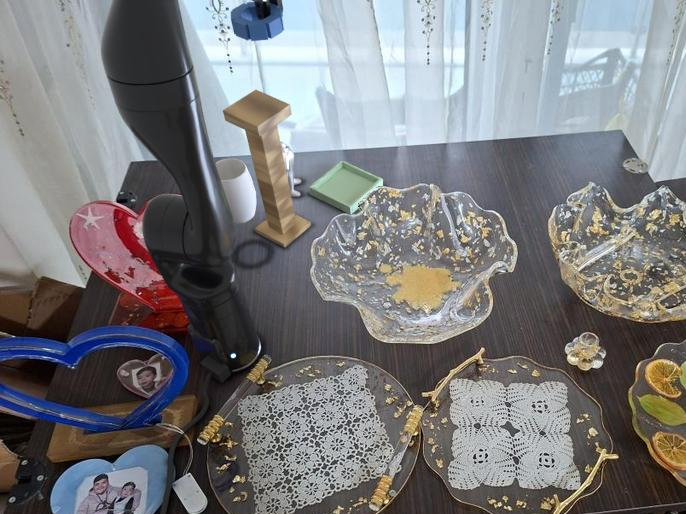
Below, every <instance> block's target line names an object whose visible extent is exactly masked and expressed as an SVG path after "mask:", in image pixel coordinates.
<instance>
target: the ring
mask: <svg viewBox="0 0 686 514" xmlns="http://www.w3.org/2000/svg"><path fill="white" fill-rule="evenodd" d="M270 8H271V10H270V12H271V15H270V16H268V17H266V18H265V19H263V20H259V19H258V17H257V13H256V8H255V3H254V1H247V2H246V3H244V2H243V3H241V4H240V5H237V6H236V7H234V8H233V9H231V11H230V22H231V25H232V31H233V34H234V35H235V36H236V37H238V38H241V39H243V40H246V41H251V42H257V41H269V39H270V40H272V39H274V38H276V37H277V36H279V35H280V34H283V32H284V31H285V28H284V27H285V26H284V20H283V17H282V13H281V8H280V7H279V6H277V5H275V4H272V3H270Z"/></svg>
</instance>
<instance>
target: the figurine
mask: <svg viewBox="0 0 686 514" xmlns="http://www.w3.org/2000/svg"><path fill="white" fill-rule="evenodd" d="M280 143H281V148H282V153H283V158H284V163H285V168H286V173H287V178H288V183H289V188H290V193H291V198H299V197H300V196H301V192H300V191H298V190H296V189H295V188H294V187H295V186H297V185H300V184H302V179H301V178H297V177H295V170H294V166H295V152H294V150H293V149H292V148H291V147H290V146H289V145H287V143H285V142H283V141H280Z"/></svg>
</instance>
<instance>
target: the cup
mask: <svg viewBox="0 0 686 514" xmlns="http://www.w3.org/2000/svg"><path fill="white" fill-rule="evenodd" d="M215 164H216V167H217V170H218V173H219V176H220V179H221V182H222V185H223V188H224V191H225V194H226V197H227V200H228V203H229V206H230V209H231V213H232V217H233V222H234V224H245V223H247V222H250V220H252V219H253V218H254V217H255V214H256V209H257V191H256V188H255V184H254V181H253V179H252V175H251V173H250V172H249V169H248V167H247V165H246V163H245V162H244V161H243V160H241V159H238V158H230V157H229V158H228V157H227V158H223V159H219V160H217V162H216V161H215Z"/></svg>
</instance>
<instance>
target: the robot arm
mask: <svg viewBox="0 0 686 514" xmlns="http://www.w3.org/2000/svg"><path fill="white" fill-rule="evenodd" d="M251 2H254V3H255V8H256V13H257V17H258V19H259V20H263V19H265V18H266V17H268V16H270V15H271V12H270V10H271V8H270V3H272V4H275V5H277V6H279V7H280V8H281V13H282V18H283V17H284V15H283V13H284V6H283V0H251ZM180 7H181V6H180V2H179V0H112V1H111V3H110V7H109V10H108V14H107V17H106V20H105V24H104V28H103V32H102V36H101V42H100V57H101V62H102V66H103V69H104V73H105V76H106V79H107V82H108V85H109V87H110V91H111V95H112V97H113V100H114V103H115V106H116V108H117V111H118V114H119V116H120V117H121V119H122V121H123V123H124V124H125V125H126V126H127V128H128V129H129V130H130V132H131V133H132V135H134V136H135V138H136V139H137V140H138V141H139V143H140V144H141V145H142V146H143V147H144V148H145V149H146V150H147V152H148V153H150V155H151V156H153V158H154V159H155V160H156V161H157V162H158V163H159V164H160V165H161V166H162V167H163V168H164V170H165V171H166V172H167V173H168V175H170V177H171V179H172V180H173V181H174V183H175V185H176V186H177V188H178V191H179V192H180V194H173V193H162V194H158V195H156V196H155V197H153V198H152V199H151V200H149V202H148V203H147V204H146V207H145V209H144V212H143V214H142V220H141V221H142V222H141V225H142V226H141V230H142V236H143V237H142V238H143V241H144V244H145V245H144V246H145V247H146V250H147V252H148V254H149V256H150V258H151V261H152V262H153V263H154V265H155V267H156V269H157V270H158V273H159V274H160V276H161V278H162V279H163V282H164V283H165V285H166V286H167V288H168V289H169V290H170V291H171V292H172V293H174V294H176V295H177V298H178V300H179V301H180V304H181V306H182V309H183V310H184V312H185V315H186V317H187V319H188V322H189V323H190V324H189V325H187V327H186V330H187V331H188V333H189V335H190V338H191V340H192V342H193V344H194V346H195V349H196V351H197V353H198V355H199V357H200V359H201V361H200V362H199V363H200V366H201V368H202V370H203V372H204V373H206V374H207V375H206V377H205V380H204V382H203V384H202V388H201V398H202V400H203V405H202V408H201V410H200V412H199V413H198V414H197V415H196V416H195V417H193V419H191V420H190V421H189V422H188V423H187V424H186V425H184V426H183V427H182V428H181V429H182V430H183V431H184V432H185V433H187V432H188V431H189V430H190V429H191V428H192V427H194V426H195V425H196V424H197V423H198V422H200V421H201V419H202V418H203V417H204V416H205V414H206V413H207V411H208V408H209V406H210V399H209V397H208V393H207V392H208V387H209V385H210V382H211V381H212V379H215V380H216V381H218V382H219V383H221V384H223V383H224V382H225V381H226V380H227V379H228V378H229V377H230V376H231V375H232V374H235V373H240V372H242V371H245V370H246V369H248V368H250V367H251V366H253V365H254V364H255V363H256V362H257V360H258V359H259V357H260V355H261V352H262V343H261V340H260V337H259V335H258V331H257V329H256V327H255V323H254V321H253V317H252V314H251V311H250V308H249V305H248V302H247V299H246V296H245V292H244V290H243V286H242V284H241V280H240V278H239V274H238V271H237V269H236V267H235V265H234V263H233V262H232V261H231V257H232V255H233V252H234V249H235V242H236V232H235V231H236V230H235V223H234V222H233V217H232V213H231V209H230V206H229V203H228V200H227V197H226V194H225V191H224V188H223V185H222V182H221V179H220V176H219V173H218V170H217V167H216V164H215V163H216V160H215V157H214V153H213V149H212V145H211V141H210V137H209V133H208V129H207V124H206V120H205V115H204V111H203V106H202V100H201V94H200V89H199V85H198V84H199V83H198V80H197V75H196V71H195V66H194V61H193V58H192V54H191V50H190V46H189V42H188V39H187V35H186V31H185V26H184V22H183V21H184V20H183V16H182V12H181V8H180ZM182 436H183V435H182V434H181V433H179V431H178V432H177V433H176V435H174V438H173V440H172V442H171V443H170V447H169V451H168V454H167V462H166V463H167V464H166V467H167V469H166V482H165V488H164V493H163V497H162V502H161V507H160V512H159V514H167V511H168V506H169V501H170V497H171V491H172V486H173V481H174V480H173V479H174V458H175V451H176V448H177V446H178V443H179V441H180V440H181V438H182Z"/></svg>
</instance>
